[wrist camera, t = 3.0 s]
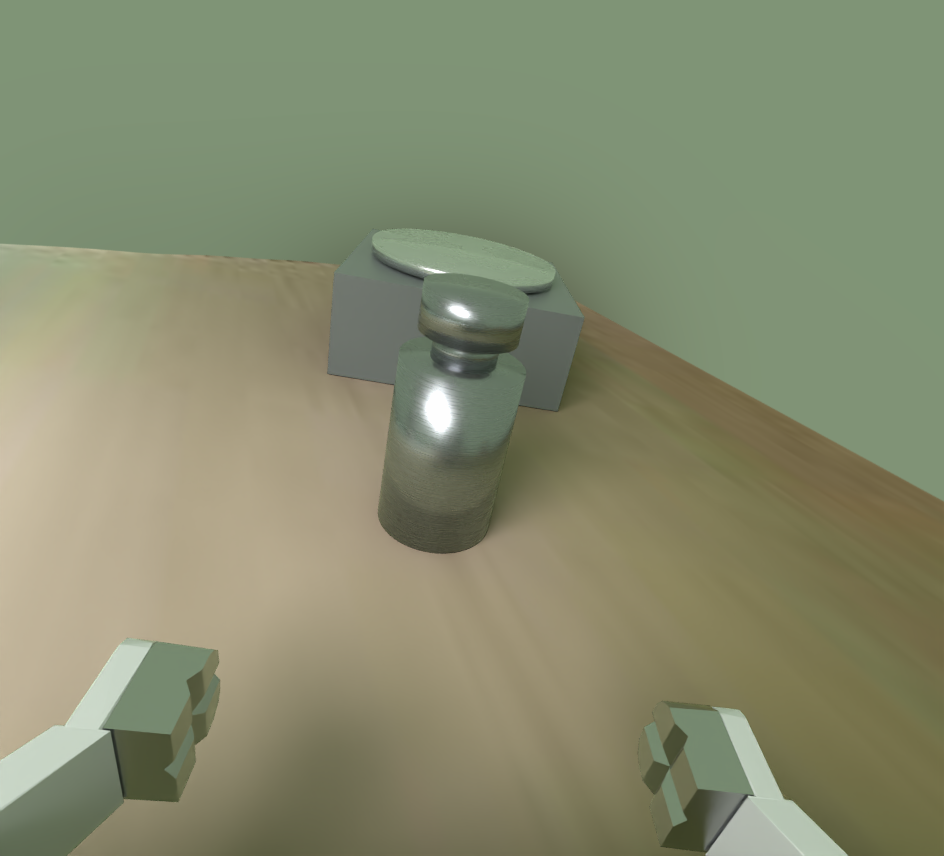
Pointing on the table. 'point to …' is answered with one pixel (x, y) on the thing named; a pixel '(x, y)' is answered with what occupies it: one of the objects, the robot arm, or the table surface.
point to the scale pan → (461, 258)
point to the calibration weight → (452, 413)
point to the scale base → (395, 322)
